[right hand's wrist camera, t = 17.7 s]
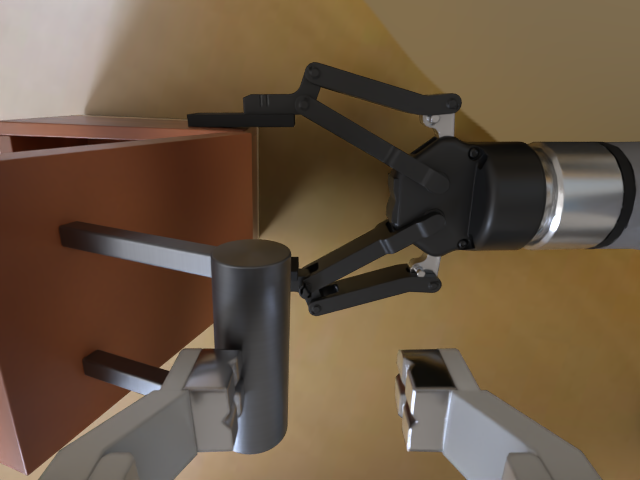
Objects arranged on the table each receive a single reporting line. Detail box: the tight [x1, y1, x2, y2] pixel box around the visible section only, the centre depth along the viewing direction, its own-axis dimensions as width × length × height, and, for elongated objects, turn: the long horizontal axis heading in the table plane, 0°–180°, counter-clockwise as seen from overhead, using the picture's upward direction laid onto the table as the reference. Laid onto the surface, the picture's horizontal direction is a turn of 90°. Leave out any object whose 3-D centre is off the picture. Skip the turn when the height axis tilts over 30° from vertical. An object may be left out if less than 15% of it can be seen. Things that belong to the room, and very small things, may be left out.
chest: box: [0, 115, 259, 239], centre depth 29 cm, size 14×10×10 cm
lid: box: [0, 131, 291, 475], centre depth 17 cm, size 14×10×9 cm
